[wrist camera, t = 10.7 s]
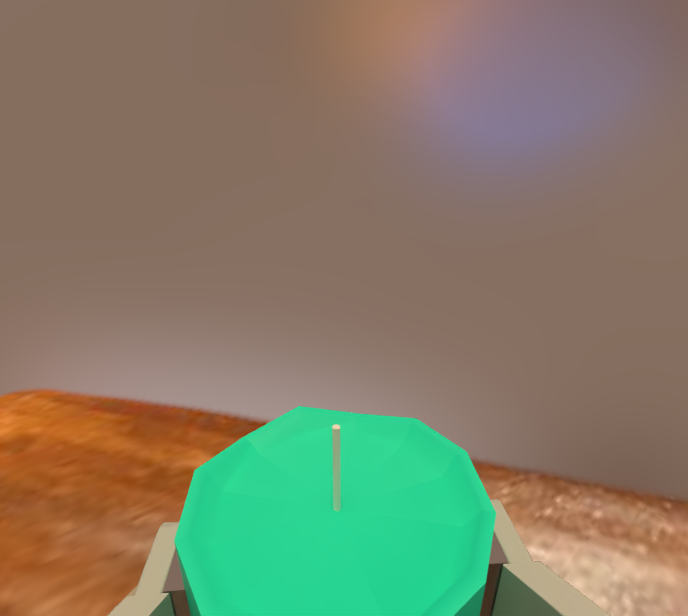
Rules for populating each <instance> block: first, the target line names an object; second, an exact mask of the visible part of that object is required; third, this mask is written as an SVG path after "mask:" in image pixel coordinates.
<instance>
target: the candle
mask: <svg viewBox="0 0 688 616" xmlns="http://www.w3.org/2000/svg"><path fill="white" fill-rule="evenodd" d="M495 519H496V511H495V509H494V507H493V505H492V503H491V501H490V499H489V497H488V495H487V493H486V491H485V489H484V486H483V484H482V482H481V480H480V478H479V476H478V474H477V472H476V470H475V468H474V466H473V464H472V462H471V460H470V458H469V456H468V454H467V452H466V451H465V450H463V449H462V448H460V447H459V446H457V445H456V444H454V443H453V442H451V441H450V440H448V439H447V438H445V437H444V436H442V435H440V434H439V433H437V432H436V431H434V430H433V429H431V428H430V427H428V426H427V425H425V424H424V423H422V422H421V421H419V420H418V419H416V418H405V417H393V416H381V415H369V414H357V413H350V412H342V411H334V410H326V409H317V408H310V407H301V406H298V407H297V408H295V409H293V410H291V411H289V412H288V413H286V414H284V415H282V416H281V417H279V418H277V419H275V420H273V421H271V422H270V423H268V424H266V425H264V426H262V427H261V428H259V429H257V430H255V431H253V432H252V433H250V434H248V435H246V436H244V437H243V438H241V439H240V440H238V441H237V442H235V443H234V444H232V445H231V446H229V447H228V448H227V449H225V450H224V451H222V452H221V453H219V454H218V455H216V456H215V457H213V458H212V459H210V460H209V461H207V462H206V463H205V464H203V465H202V466H200V467H199V468H197V469H196V470H195V471H194V475H193V478H192V481H191V485H190V488H189V492H188V495H187V498H186V502H185V505H184V509H183V512H182V515H181V519H180V522H179V526H178V529H177V532H176V536H175V539H174V543H175V547H176V552H177V556H178V561H179V566H180V570H181V575H182V579H183V584H184V588H185V592H186V596H187V601H188V605H189V610H190V615H191V616H480V611H481V605H482V600H483V595H484V590H485V585H486V579H487V572H488V565H489V559H490V552H491V546H492V539H493V532H494V526H495Z"/></svg>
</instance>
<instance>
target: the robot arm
mask: <svg viewBox="0 0 688 616" xmlns="http://www.w3.org/2000/svg"><path fill="white" fill-rule="evenodd" d="M490 501H491V503H492V505H493V507H494V509H495V511H496V519H495V526H494V532H493V539H492V546H491V552H490V559H489V565H488V572H487V579H486V585H485V590H484V595H483V600H482V605H481V611H480V616H611V615H609V614H608V613H607V612H606V611H604V610H603V609H602V608H600V607H599V606H598V605H596V604H595V603H594V602H593V601H591V600H590V599H589V598H587V597H586V596H585V595H583V594H582V593H581V592H579V591H578V590H577V589H576V588H574V587H573V586H572V585H570V584H569V583H568V582H566V581H565V580H564V579H562V578H561V577H560V576H559V575H557V574H556V573H555V572H553V571H552V570H551V569H549V568H548V567H547V566H546V565H544V564H543V563H542V562H540V561H533V560H532V558H531V556H530V554H529V552H528V551H527V549H526V547H525V545H524V543H523V541H522V540H521V538H520V536H519V534H518V532H517V530H516V529H515V527H514V525H513V523H512V521H511V519H510V518H509V516H508V514H507V512H506V510H505V508H504V507H503V505H502V503H501V502H500V501H499V500H498V499H493V500H490ZM178 526H179V522H167V523H163V524H162V525H161V527H160V528H159V529H158V532H157V534H156V537H155V540H154V542H153V545H152V548H151V551H150V553H149V556H148V559H147V561H146V564H145V567H144V569H143V572H142V575H141V578H140V580H139V583H138V586H137V588H136V591H135V594H134V595H133V596H126V597H125V598H124V599H123V600H122V601H121V602H120V603H119V604H118V605H117V606H116V607H115V608H114V609H113V610H112V611H111V612H110V613H109V614H108V615H107V616H191V615H190V610H189V605H188V601H187V596H186V592H185V588H184V584H183V579H182V575H181V570H180V566H179V561H178V556H177V552H176V547H175V543H174V539H175V536H176V532H177V529H178Z"/></svg>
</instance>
